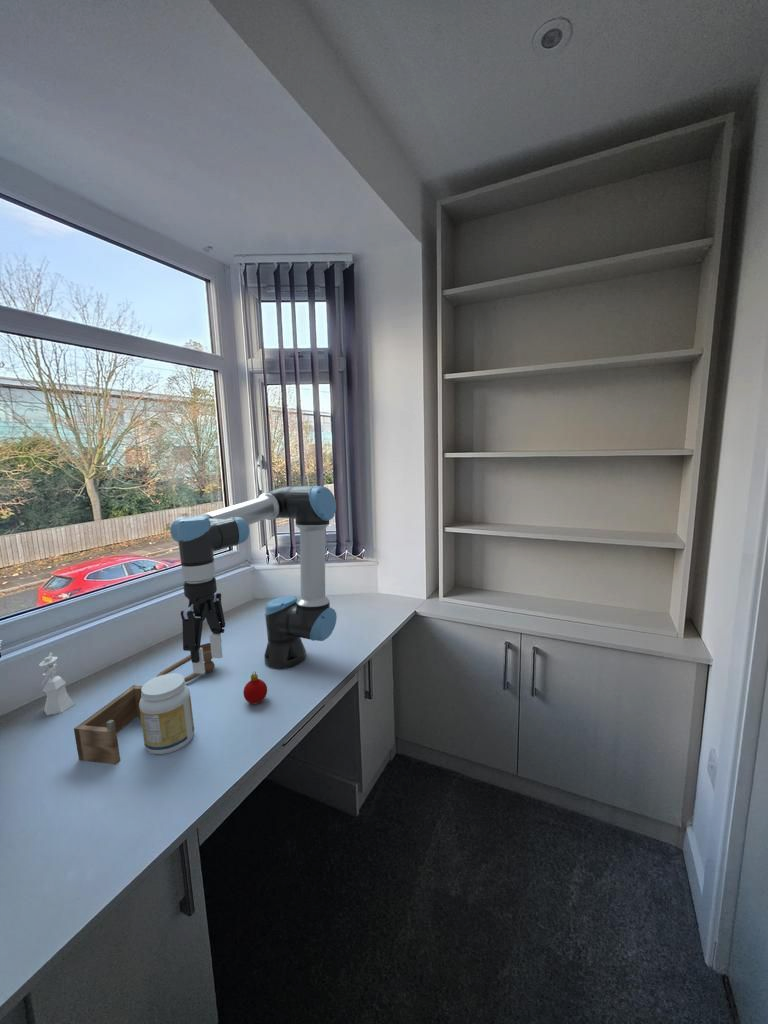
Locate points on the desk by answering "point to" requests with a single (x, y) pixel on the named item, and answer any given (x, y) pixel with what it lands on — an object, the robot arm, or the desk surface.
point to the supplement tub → (166, 714)
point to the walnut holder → (107, 728)
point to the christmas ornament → (255, 690)
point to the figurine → (54, 688)
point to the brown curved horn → (206, 654)
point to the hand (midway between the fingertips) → (208, 664)
